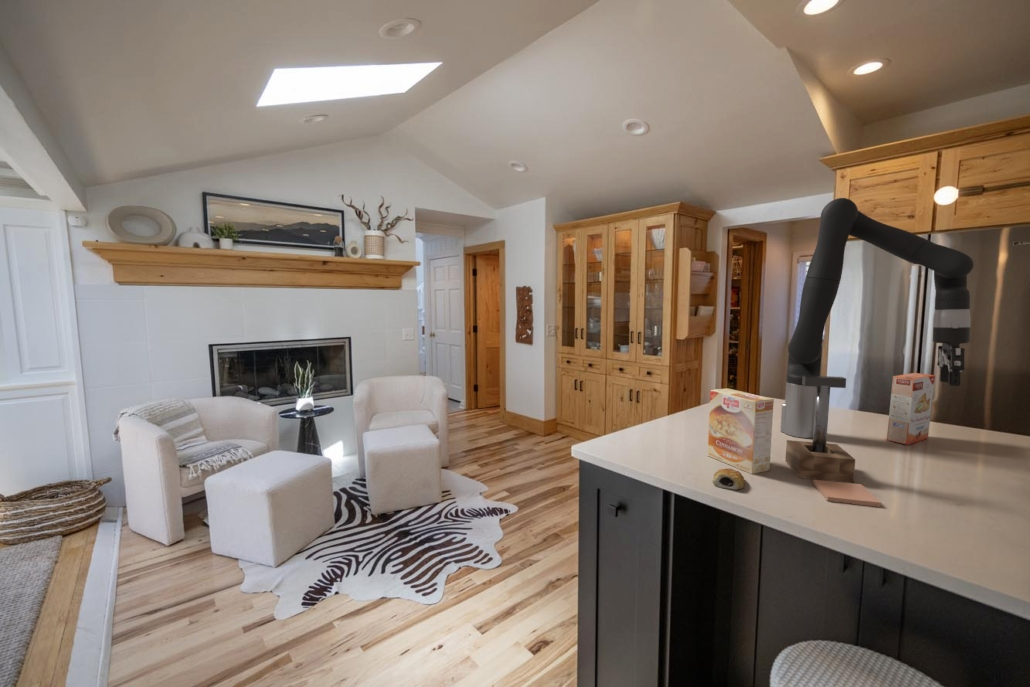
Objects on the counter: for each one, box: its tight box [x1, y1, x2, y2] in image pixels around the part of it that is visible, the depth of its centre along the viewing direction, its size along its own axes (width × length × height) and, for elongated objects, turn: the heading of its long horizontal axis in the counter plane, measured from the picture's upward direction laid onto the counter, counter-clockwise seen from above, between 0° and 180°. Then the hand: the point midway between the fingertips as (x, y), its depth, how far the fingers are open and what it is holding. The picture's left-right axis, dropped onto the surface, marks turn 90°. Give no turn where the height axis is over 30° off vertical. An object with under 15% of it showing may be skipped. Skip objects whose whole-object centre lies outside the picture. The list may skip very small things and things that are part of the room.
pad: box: [812, 479, 882, 508], centre depth 106 cm, size 10×10×1 cm
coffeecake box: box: [707, 387, 775, 475], centre depth 125 cm, size 15×7×20 cm, turn 23°
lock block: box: [785, 439, 856, 484], centre depth 120 cm, size 12×12×6 cm
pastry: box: [712, 468, 745, 491], centre depth 113 cm, size 9×7×4 cm
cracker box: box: [886, 372, 936, 446], centre depth 144 cm, size 14×6×21 cm, turn 118°
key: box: [802, 375, 847, 453], centre depth 118 cm, size 9×4×23 cm, turn 73°
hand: (949, 383), depth 128 cm, fingers open, 8 cm apart
